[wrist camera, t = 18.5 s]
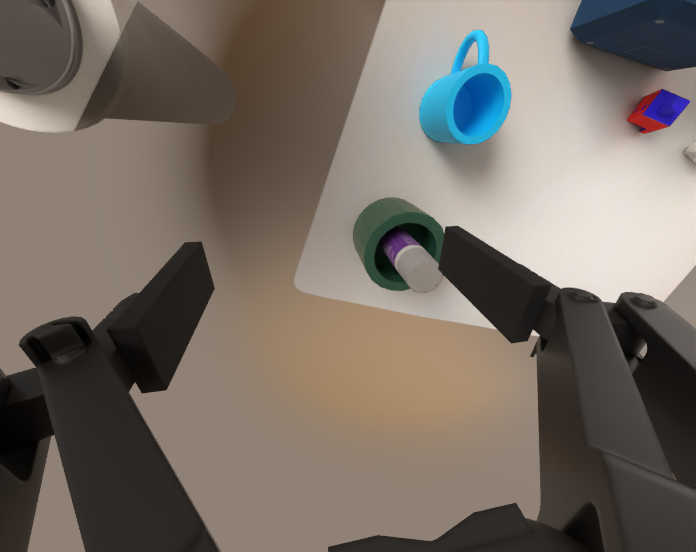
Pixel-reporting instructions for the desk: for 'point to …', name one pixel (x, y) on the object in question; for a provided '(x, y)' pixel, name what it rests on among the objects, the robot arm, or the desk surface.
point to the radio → (641, 30)
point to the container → (411, 260)
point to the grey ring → (691, 152)
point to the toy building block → (658, 111)
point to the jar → (382, 220)
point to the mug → (467, 99)
